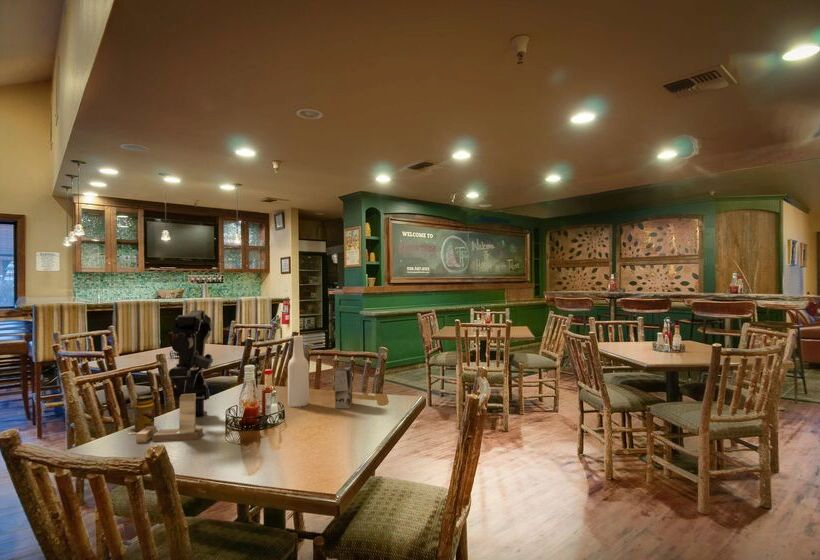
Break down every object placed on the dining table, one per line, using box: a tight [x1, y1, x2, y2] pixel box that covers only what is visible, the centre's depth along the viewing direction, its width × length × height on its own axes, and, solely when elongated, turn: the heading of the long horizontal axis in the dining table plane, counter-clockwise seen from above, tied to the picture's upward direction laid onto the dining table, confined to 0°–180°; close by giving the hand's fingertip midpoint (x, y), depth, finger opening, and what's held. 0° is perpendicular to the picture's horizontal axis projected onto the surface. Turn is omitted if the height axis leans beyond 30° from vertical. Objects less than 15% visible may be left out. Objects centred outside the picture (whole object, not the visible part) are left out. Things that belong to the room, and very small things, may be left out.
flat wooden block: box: [152, 426, 204, 442], centre depth 151 cm, size 6×14×2 cm, turn 98°
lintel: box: [135, 425, 157, 443], centre depth 151 cm, size 8×3×3 cm, turn 8°
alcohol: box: [287, 335, 310, 408], centre depth 193 cm, size 9×9×30 cm
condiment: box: [127, 394, 156, 435], centre depth 159 cm, size 7×8×12 cm
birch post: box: [178, 393, 197, 433], centre depth 152 cm, size 4×4×12 cm
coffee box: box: [334, 366, 353, 409], centre depth 191 cm, size 9×6×16 cm
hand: (187, 391), depth 162 cm, fingers open, 9 cm apart
